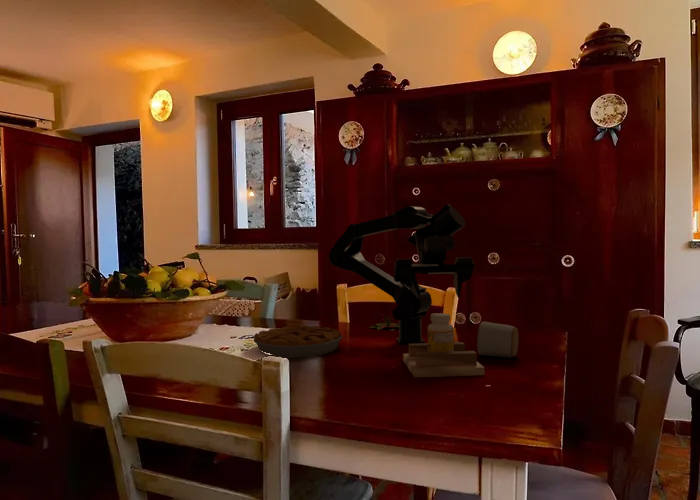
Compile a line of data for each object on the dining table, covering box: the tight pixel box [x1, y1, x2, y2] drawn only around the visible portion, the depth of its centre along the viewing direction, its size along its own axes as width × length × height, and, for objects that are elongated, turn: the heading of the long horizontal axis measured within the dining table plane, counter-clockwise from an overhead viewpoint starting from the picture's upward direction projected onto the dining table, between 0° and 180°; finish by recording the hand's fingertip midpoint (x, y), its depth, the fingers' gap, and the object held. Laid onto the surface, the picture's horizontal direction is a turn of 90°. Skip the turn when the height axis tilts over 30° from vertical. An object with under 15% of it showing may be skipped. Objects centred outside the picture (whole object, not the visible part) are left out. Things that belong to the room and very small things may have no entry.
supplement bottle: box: [427, 312, 454, 352], centre depth 107 cm, size 5×5×10 cm
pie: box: [253, 324, 343, 359], centre depth 128 cm, size 22×22×5 cm
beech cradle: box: [402, 341, 486, 378], centre depth 107 cm, size 14×14×4 cm
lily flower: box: [369, 313, 399, 331], centre depth 155 cm, size 12×12×5 cm
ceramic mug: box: [476, 321, 519, 359], centre depth 118 cm, size 11×8×8 cm
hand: (439, 297), depth 117 cm, fingers open, 9 cm apart
